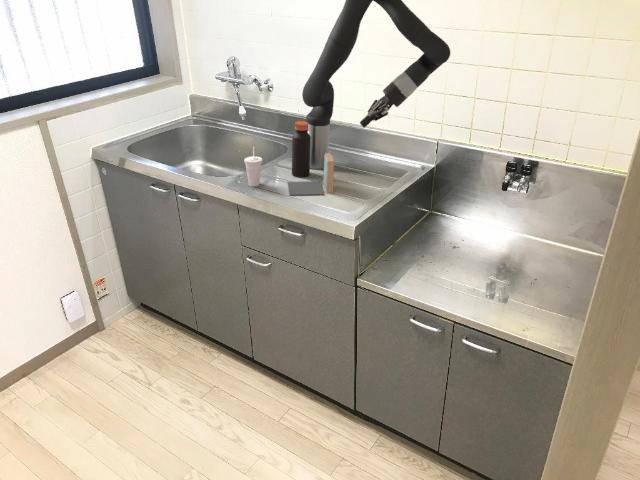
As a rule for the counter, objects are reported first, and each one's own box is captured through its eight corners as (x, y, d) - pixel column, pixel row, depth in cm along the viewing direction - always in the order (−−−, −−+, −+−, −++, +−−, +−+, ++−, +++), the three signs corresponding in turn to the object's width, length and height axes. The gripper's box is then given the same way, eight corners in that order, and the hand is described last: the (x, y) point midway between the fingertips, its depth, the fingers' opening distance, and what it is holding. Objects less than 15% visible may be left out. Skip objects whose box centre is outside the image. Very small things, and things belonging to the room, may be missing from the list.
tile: (329, 184, 196) (330, 153, 191) (332, 193, 189) (333, 160, 184) (323, 184, 196) (324, 153, 190) (326, 193, 189) (327, 161, 183)
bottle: (302, 179, 200) (304, 126, 191) (288, 174, 203) (288, 123, 194) (312, 173, 205) (314, 122, 196) (298, 169, 208) (299, 119, 199)
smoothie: (265, 182, 195) (265, 145, 189) (258, 189, 190) (257, 151, 183) (249, 180, 197) (248, 143, 191) (242, 186, 192) (240, 148, 185)
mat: (319, 182, 198) (319, 181, 198) (324, 195, 187) (324, 194, 187) (287, 182, 196) (287, 181, 196) (290, 195, 186) (290, 194, 186)
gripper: (388, 77, 183) (351, 112, 187) (398, 85, 171) (358, 123, 176) (401, 92, 186) (364, 127, 190) (412, 102, 175) (372, 138, 179)
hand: (361, 125), depth 183 cm, fingers closed
